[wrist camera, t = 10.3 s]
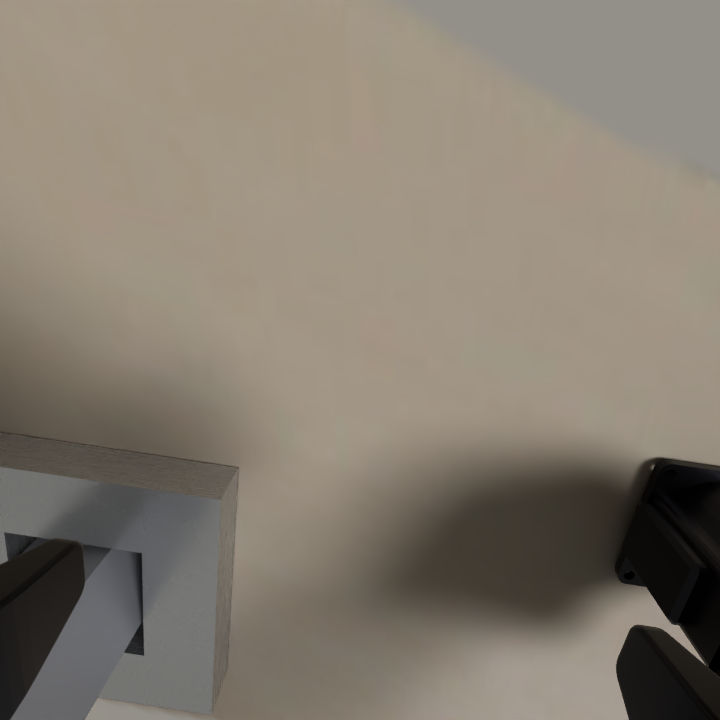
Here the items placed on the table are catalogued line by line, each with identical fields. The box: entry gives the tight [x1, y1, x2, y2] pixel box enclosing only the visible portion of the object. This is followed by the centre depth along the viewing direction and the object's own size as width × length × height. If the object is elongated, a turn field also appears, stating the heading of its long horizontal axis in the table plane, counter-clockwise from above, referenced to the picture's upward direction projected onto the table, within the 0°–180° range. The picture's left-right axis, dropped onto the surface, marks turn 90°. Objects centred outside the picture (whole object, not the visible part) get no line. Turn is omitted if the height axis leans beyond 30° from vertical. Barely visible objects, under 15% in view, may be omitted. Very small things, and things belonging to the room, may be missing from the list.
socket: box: [0, 432, 239, 715], centre depth 23 cm, size 13×13×3 cm
